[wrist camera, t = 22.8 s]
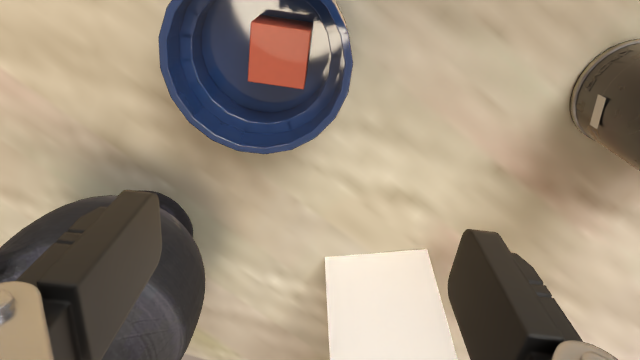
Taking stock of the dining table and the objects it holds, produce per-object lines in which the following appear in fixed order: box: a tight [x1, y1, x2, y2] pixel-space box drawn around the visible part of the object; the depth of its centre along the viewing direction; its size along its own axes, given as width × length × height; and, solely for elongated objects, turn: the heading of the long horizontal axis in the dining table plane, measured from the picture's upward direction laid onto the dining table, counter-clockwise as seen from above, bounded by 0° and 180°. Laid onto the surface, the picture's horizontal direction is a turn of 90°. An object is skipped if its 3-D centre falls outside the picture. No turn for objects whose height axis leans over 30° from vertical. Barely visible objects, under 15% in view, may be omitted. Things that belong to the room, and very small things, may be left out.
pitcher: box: [0, 191, 205, 360], centre depth 32 cm, size 17×21×30 cm
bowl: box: [159, 0, 353, 154], centre depth 34 cm, size 14×14×6 cm
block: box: [248, 15, 313, 89], centre depth 34 cm, size 4×4×4 cm
